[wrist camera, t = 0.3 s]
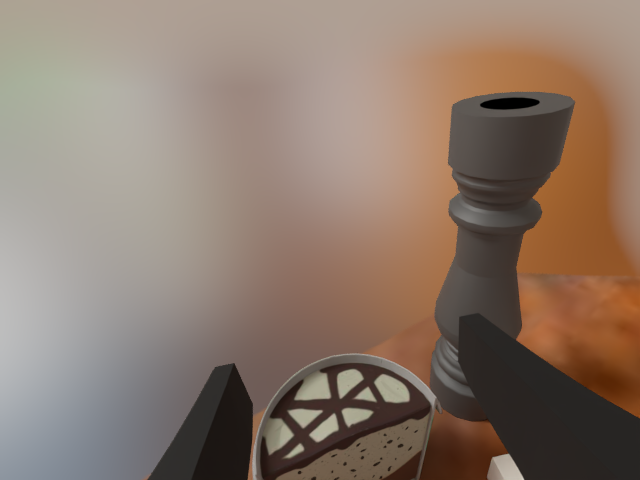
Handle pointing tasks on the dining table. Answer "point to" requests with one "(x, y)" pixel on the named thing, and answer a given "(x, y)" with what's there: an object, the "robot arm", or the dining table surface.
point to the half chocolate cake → (346, 423)
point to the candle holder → (492, 219)
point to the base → (503, 469)
